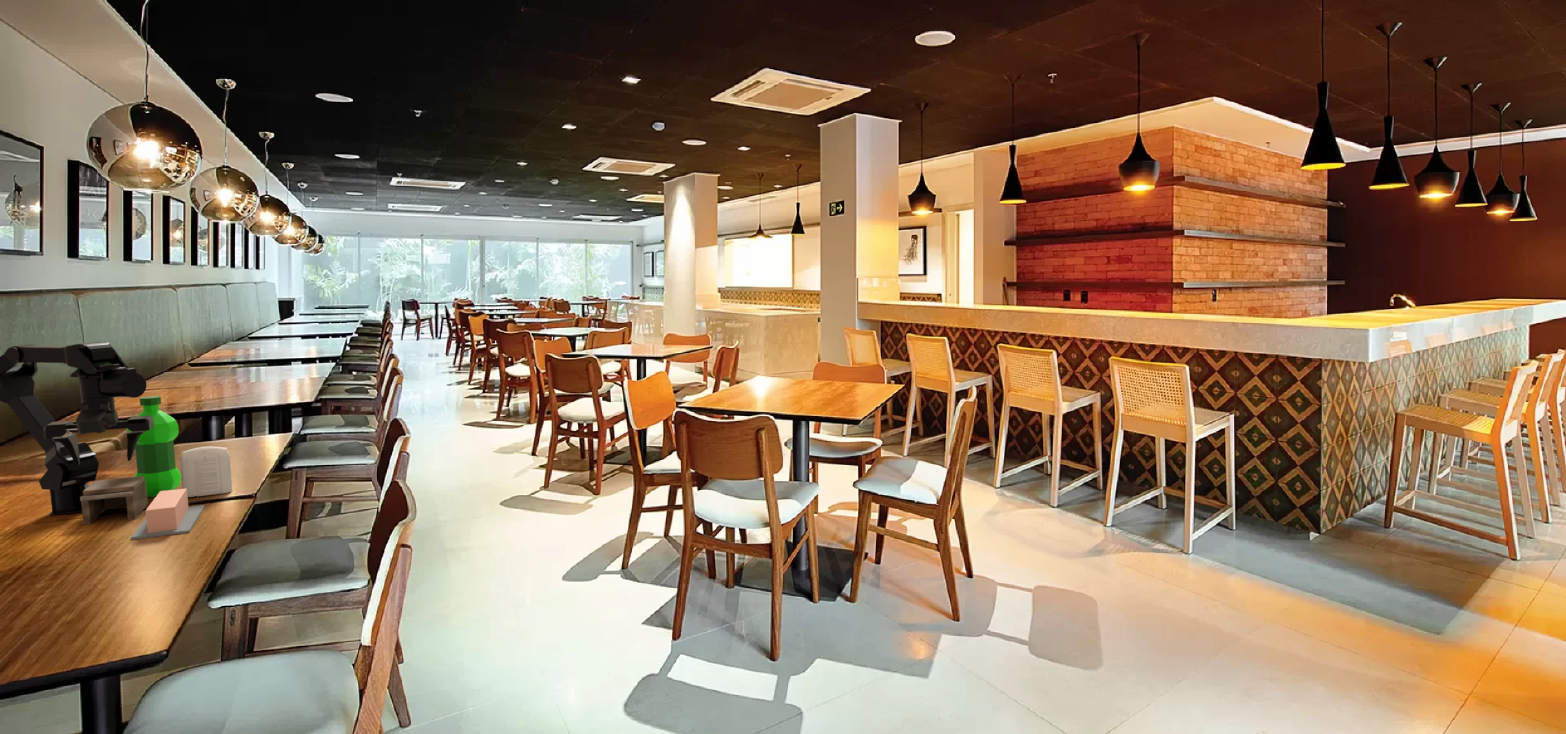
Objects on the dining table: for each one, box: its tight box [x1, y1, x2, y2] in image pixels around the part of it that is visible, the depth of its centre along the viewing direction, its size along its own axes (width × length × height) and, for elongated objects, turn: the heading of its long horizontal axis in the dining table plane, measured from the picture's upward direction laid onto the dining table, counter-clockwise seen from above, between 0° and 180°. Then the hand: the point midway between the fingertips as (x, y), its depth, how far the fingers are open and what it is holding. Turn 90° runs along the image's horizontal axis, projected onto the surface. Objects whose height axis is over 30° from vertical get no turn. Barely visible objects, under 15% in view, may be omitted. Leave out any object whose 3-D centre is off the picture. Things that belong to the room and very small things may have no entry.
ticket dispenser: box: [80, 476, 149, 526], centre depth 181 cm, size 9×14×7 cm, turn 29°
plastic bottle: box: [126, 395, 182, 498], centre depth 197 cm, size 10×10×25 cm
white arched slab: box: [179, 445, 233, 498], centre depth 198 cm, size 10×4×12 cm, turn 123°
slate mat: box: [130, 504, 206, 540], centre depth 176 cm, size 10×21×1 cm, turn 29°
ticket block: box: [145, 488, 189, 533], centre depth 176 cm, size 5×17×5 cm, turn 30°
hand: (104, 462), depth 181 cm, fingers open, 9 cm apart
